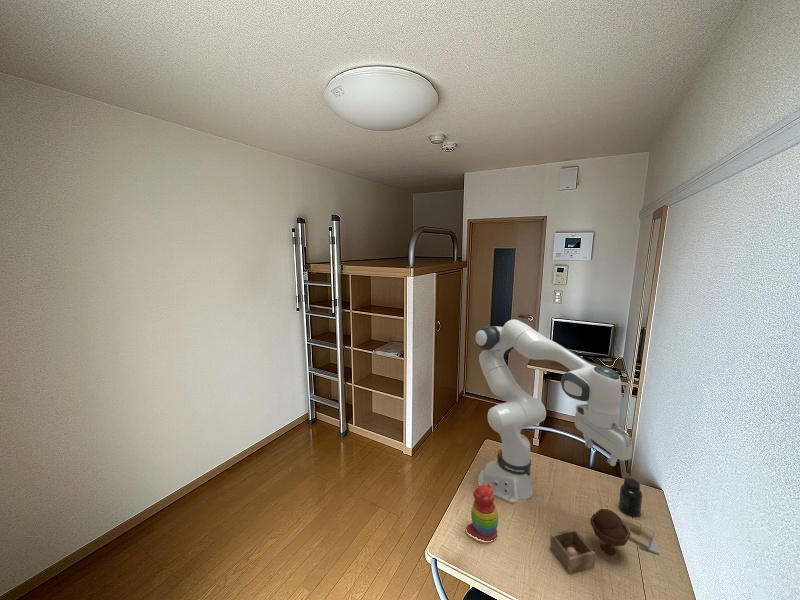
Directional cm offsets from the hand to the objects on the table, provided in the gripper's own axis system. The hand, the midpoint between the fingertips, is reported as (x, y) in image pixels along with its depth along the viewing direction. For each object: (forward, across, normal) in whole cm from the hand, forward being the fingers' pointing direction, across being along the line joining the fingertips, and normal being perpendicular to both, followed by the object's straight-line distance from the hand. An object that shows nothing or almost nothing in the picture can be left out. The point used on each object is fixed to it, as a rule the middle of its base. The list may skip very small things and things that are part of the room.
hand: (599, 455), depth 106 cm
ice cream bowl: (+32, -6, -1) cm, 32 cm away
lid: (+31, -2, -15) cm, 34 cm away
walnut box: (+32, -6, +13) cm, 35 cm away
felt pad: (+32, -2, -15) cm, 35 cm away
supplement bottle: (+32, +7, -22) cm, 40 cm away
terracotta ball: (+31, -6, +13) cm, 34 cm away
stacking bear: (+32, +10, +36) cm, 49 cm away
